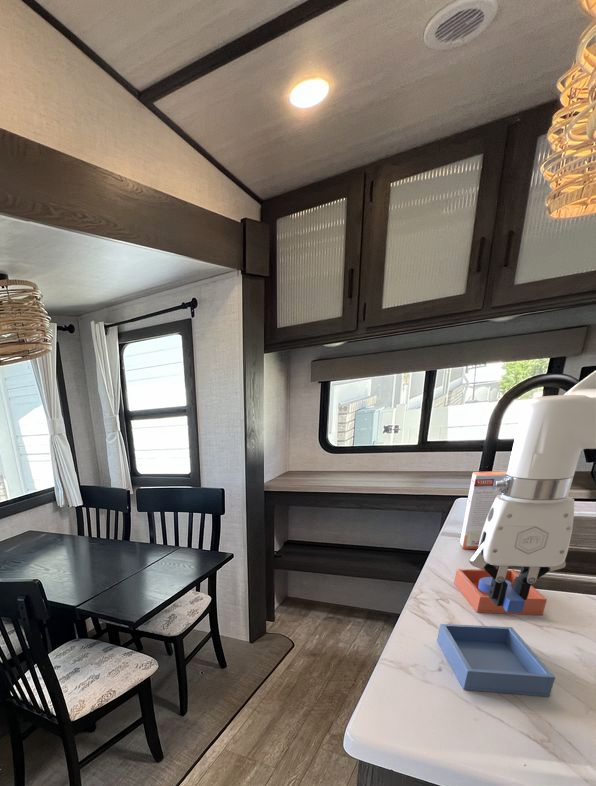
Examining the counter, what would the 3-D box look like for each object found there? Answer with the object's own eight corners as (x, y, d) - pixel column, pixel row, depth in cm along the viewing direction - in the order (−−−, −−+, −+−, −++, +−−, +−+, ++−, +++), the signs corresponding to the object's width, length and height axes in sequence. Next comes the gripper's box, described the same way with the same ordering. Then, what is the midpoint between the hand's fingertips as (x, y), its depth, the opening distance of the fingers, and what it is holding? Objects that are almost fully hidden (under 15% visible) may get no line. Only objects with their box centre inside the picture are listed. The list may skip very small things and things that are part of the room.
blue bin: (507, 644, 87) (512, 627, 85) (549, 697, 72) (555, 677, 71) (436, 640, 90) (440, 623, 89) (463, 689, 76) (467, 671, 74)
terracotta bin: (510, 584, 110) (513, 569, 108) (542, 615, 95) (547, 599, 94) (453, 582, 113) (456, 568, 112) (476, 612, 99) (480, 597, 97)
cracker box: (517, 545, 132) (535, 469, 123) (522, 551, 127) (542, 473, 119) (458, 542, 138) (472, 470, 129) (461, 549, 133) (476, 474, 124)
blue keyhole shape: (531, 613, 71) (534, 601, 71) (497, 611, 73) (500, 600, 72) (503, 585, 81) (506, 574, 80) (474, 584, 82) (476, 573, 82)
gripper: (480, 494, 67) (455, 610, 74) (619, 492, 62) (578, 616, 69) (464, 484, 73) (443, 591, 81) (589, 481, 68) (554, 595, 76)
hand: (505, 602), depth 75 cm, fingers closed on blue keyhole shape, 2 cm apart
